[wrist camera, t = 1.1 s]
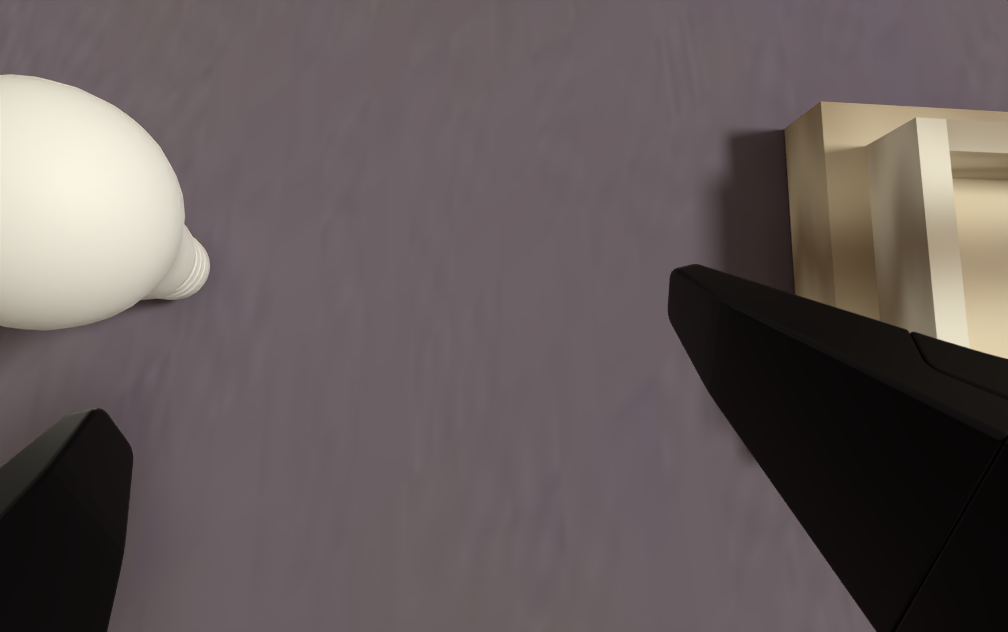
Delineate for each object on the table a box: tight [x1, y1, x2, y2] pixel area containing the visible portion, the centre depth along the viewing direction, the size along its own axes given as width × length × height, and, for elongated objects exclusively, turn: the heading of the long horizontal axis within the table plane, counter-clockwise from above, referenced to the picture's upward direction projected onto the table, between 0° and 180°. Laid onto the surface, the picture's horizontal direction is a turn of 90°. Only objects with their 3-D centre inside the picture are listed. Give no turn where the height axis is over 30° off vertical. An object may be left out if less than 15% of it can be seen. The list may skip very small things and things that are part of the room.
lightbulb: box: [0, 74, 210, 330], centre depth 17 cm, size 6×6×11 cm
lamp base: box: [784, 102, 1008, 359], centre depth 23 cm, size 14×14×5 cm
